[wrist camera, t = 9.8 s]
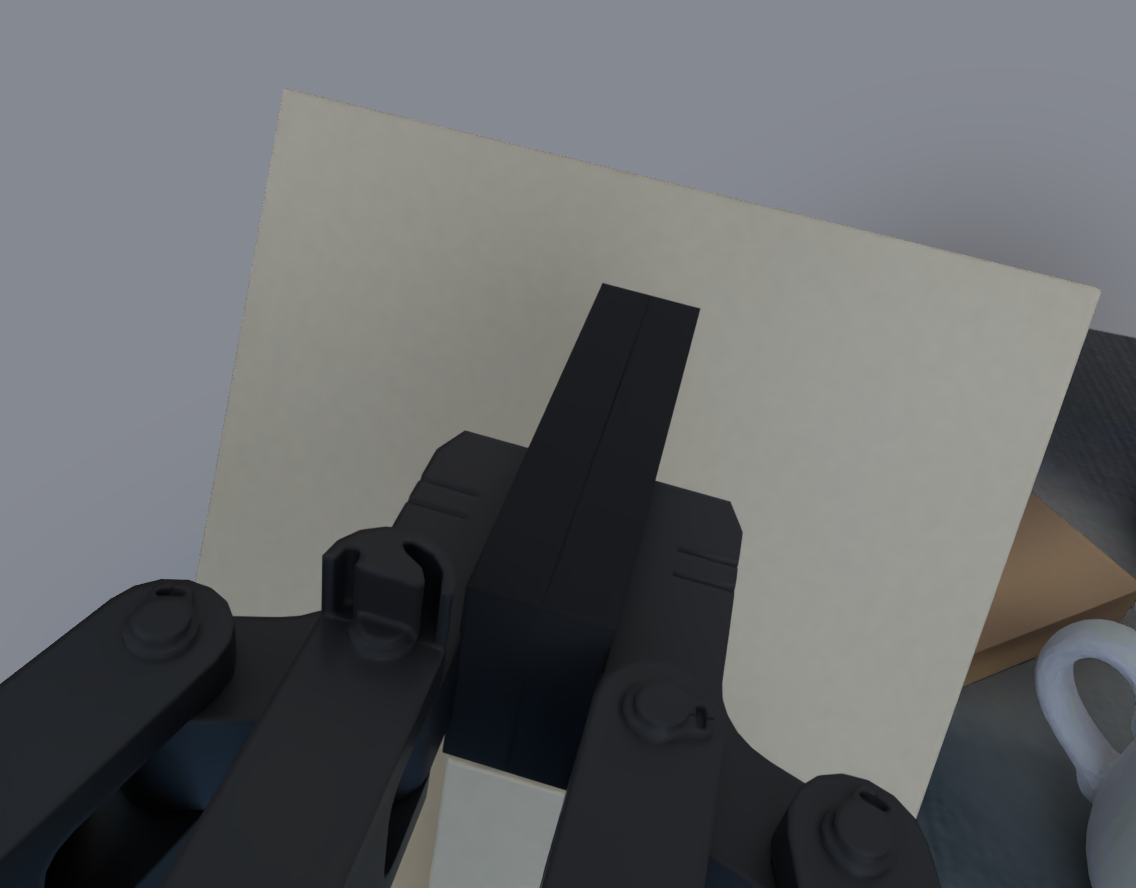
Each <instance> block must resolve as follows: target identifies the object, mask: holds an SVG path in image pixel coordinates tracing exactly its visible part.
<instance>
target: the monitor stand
mask: <svg viewBox="0 0 1136 888" xmlns="http://www.w3.org/2000/svg"><path fill="white" fill-rule="evenodd" d="M444 736H445V735H444ZM443 743H444V737H443V740H442V742H441V745H440V747H439V750H438V752H437V755H436V757H435V760H434V762H433V765H432V767H431V770H430V778H429V784H428V790H427V796H426V800H425V802H424V805H423V807H422V810H421V812H420V815H419V817H418V820H417V822H416V825H415V827H414V830H413V833H412V835H411V838H410V840H409V843H408V845H407V848H406V850H405V853H404V855H403V858H402V860H401V863H400V865H399V868H398V871H397V873H396V876H395V878H394V881H393V883H392V886H391V888H540V884H541V880H542V877H543V871H544V868H545V864H546V861H547V857H548V854H549V850H550V847H551V843H552V840H553V836H554V833H555V829H556V826H557V822H558V819H559V815H560V812H561V808H562V805H563V801H564V797H565V793H566V790H563V789H560V788H556V787H553V786H550V785H547V784H543V783H540V782H537V781H534V780H530V779H527V778H524V777H521V776H517V775H514V774H511V773H508V772H504V771H501V770H498V769H495V768H491V767H488V766H485V765H482V764H478V763H475V762H472V761H469V760H465V759H462V758H459V757H456V756H452V755H449V754H446V753H443V752H442V750H443Z"/></svg>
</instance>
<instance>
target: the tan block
mask: <svg viewBox="0 0 1136 888" xmlns="http://www.w3.org/2000/svg"><path fill="white" fill-rule="evenodd" d="M1135 601H1136V579H1135V578H1133V577H1132V576H1131V575H1130V574H1129V573H1128V572H1126V571H1125V570H1124V569H1123V568H1122V567H1120V566H1119V565H1118V564H1117V563H1116V562H1114V561H1113V560H1112V559H1111V558H1110V557H1108V556H1107V555H1106V554H1105V553H1104V552H1103V551H1101V550H1100V549H1099V548H1098V547H1097V546H1095V545H1094V544H1093V543H1092V542H1091V541H1089V540H1088V539H1087V538H1086V537H1085V536H1084V535H1082V534H1081V533H1080V532H1079V531H1078V530H1076V529H1075V528H1074V527H1073V526H1072V525H1070V524H1069V523H1068V522H1067V521H1066V520H1064V519H1063V518H1062V517H1061V516H1060V515H1059V514H1057V513H1056V512H1055V511H1054V510H1053V509H1051V508H1050V507H1049V506H1048V505H1047V504H1045V503H1044V502H1043V501H1042V500H1041V499H1040V498H1038V497H1037V496H1036V495H1035V494H1034V493H1032V492H1031V493H1030V496H1029V499H1028V502H1027V505H1026V508H1025V511H1024V513H1023V516H1022V519H1021V522H1020V525H1019V528H1018V530H1017V533H1016V536H1015V539H1014V542H1013V545H1012V547H1011V550H1010V553H1009V556H1008V559H1007V562H1006V565H1005V567H1004V570H1003V573H1002V576H1001V579H1000V582H999V584H998V587H997V590H996V593H995V596H994V599H993V601H992V604H991V607H990V610H989V613H988V616H987V619H986V621H985V624H984V627H983V630H982V633H981V636H980V638H979V641H978V644H977V647H976V650H975V653H974V655H973V658H972V661H971V664H970V667H969V670H968V673H967V675H966V678H965V681H964V684H963V686H966V685H968V684H971V683H973V682H975V681H978V680H980V679H983V678H985V677H988V676H990V675H993V674H995V673H998V672H1000V671H1003V670H1005V669H1008V668H1010V667H1012V666H1015V665H1017V664H1020V663H1022V662H1025V661H1027V660H1030V659H1032V658H1035V657H1037V656H1039V654H1040V652H1041V649H1042V648H1043V647H1044V645H1045V644H1046V643H1047V642H1048V640H1049V639H1050V638H1051V637H1052V636H1053V635H1054V634H1055V633H1056V632H1057V631H1058V630H1060V629H1062V628H1064V627H1066V626H1068V625H1070V624H1072V623H1075V622H1079V621H1082V620H1091V619H1103V620H1109V621H1114V622H1117V623H1119V622H1120V621H1121V619H1122V618H1123V617H1124V615H1125V614H1126V613H1127V611H1128V610H1129V609H1130V607H1131V606H1132V605H1133V603H1134V602H1135Z"/></svg>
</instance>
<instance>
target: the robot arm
mask: <svg viewBox="0 0 1136 888" xmlns="http://www.w3.org/2000/svg"><path fill="white" fill-rule="evenodd" d="M700 309H701V308H697V307H693V306H689V305H685V304H682V303H678V302H674V301H670V300H666V299H663V298H659V297H655V296H651V295H647V294H643V293H640V292H636V291H632V290H628V289H624V288H621V287H617V286H613V285H609V284H605V283H602V285H601V287H600V289H599V292H598V294H597V296H596V298H595V301H594V303H593V305H592V307H591V309H590V312H589V314H588V316H587V318H586V321H585V323H584V325H583V327H582V329H581V332H580V334H579V336H578V338H577V341H576V343H575V345H574V347H573V349H572V352H571V354H570V356H569V358H568V361H567V363H566V365H565V367H564V369H563V372H562V374H561V376H560V378H559V381H558V383H557V385H556V387H555V389H554V392H553V394H552V396H551V398H550V401H549V403H548V405H547V407H546V409H545V412H544V414H543V416H542V418H541V421H540V423H539V425H538V427H537V429H536V432H535V434H534V436H533V438H532V441H531V443H530V445H529V447H528V448H527V447H523V446H520V445H516V444H513V443H509V442H505V441H502V440H498V439H495V438H491V437H488V436H484V435H480V434H477V433H473V432H470V431H466V430H465V431H463V432H462V433H460V434H459V435H457V436H456V437H454V438H452V439H451V440H449V441H448V442H446V443H445V444H443V445H442V446H440V447H439V448H437V449H436V451H435V453H434V454H433V456H432V458H431V459H430V461H429V463H428V465H427V466H426V468H425V470H424V472H423V473H422V475H421V479H420V481H419V480H418V482H417V484H416V486H415V487H414V489H413V491H412V492H411V494H410V496H409V499H408V502H406V503H405V505H404V506H403V508H402V510H401V512H400V513H399V515H398V517H397V518H396V520H395V522H394V524H393V525H392V527H387V526H385V527H377V528H369V529H362V530H358V531H356V532H354V533H352V534H350V535H347V536H345V537H343V538H341V539H339V540H337V541H336V542H335V543H334V544H333V545H332V546H331V547H330V548H329V549H328V550H327V551H326V552H325V553H324V554H323V555H322V602H321V610H320V611H316V612H313V613H309V614H305V615H301V616H286V617H258V616H233V615H232V612H231V610H230V607H229V604H228V602H227V601H226V600H225V599H224V598H223V597H222V596H220V595H219V594H218V593H217V592H216V591H215V590H213V589H212V588H211V587H208V586H205V585H202V584H199V583H196V582H193V581H190V580H174V579H173V580H172V579H160V580H156V581H152V582H148V583H144V584H140V585H136V586H133V587H131V588H130V589H128V590H126V591H124V592H122V593H120V594H119V595H117V596H115V597H113V598H111V599H110V600H109V601H107V602H106V603H105V604H103V605H102V606H101V607H100V608H98V609H97V610H96V611H94V612H93V613H92V614H91V615H89V616H88V617H87V618H85V619H84V620H83V621H81V622H80V623H79V624H77V625H76V626H75V627H74V628H72V629H71V630H70V631H68V632H67V633H66V634H65V635H63V636H62V637H61V638H59V639H58V640H57V641H55V642H54V643H53V644H52V645H50V646H49V647H48V648H46V649H45V650H44V651H42V652H41V653H40V654H39V655H37V656H36V657H35V658H33V659H32V660H31V661H29V662H28V663H27V664H26V665H24V666H23V667H22V668H20V669H19V670H18V671H17V672H15V673H14V674H13V675H12V676H10V677H9V678H7V679H6V680H5V681H4V682H2V683H1V684H0V888H391V886H392V883H393V881H394V878H395V876H396V873H397V871H398V868H399V865H400V863H401V860H402V858H403V855H404V853H405V850H406V848H407V845H408V843H409V840H410V838H411V835H412V833H413V830H414V827H415V825H416V822H417V820H418V817H419V815H420V812H421V810H422V807H423V805H424V802H425V800H426V796H427V790H428V784H429V778H430V770H431V767H432V765H433V762H434V760H435V757H436V755H437V752H438V750H439V747H440V745H441V742H442V740H443V737H444V743H443V750H442V752H443V753H446V754H449V755H452V756H456V757H459V758H462V759H465V760H469V761H472V762H475V763H478V764H482V765H485V766H488V767H491V768H495V769H498V770H501V771H504V772H508V773H511V774H514V775H517V776H521V777H524V778H527V779H530V780H534V781H537V782H540V783H543V784H547V785H550V786H553V787H556V788H560V789H563V790H566V793H565V797H564V801H563V805H562V808H561V812H560V815H559V819H558V822H557V826H556V829H555V833H554V836H553V840H552V843H551V847H550V850H549V854H548V857H547V861H546V864H545V868H544V871H543V877H542V880H541V884H540V888H941V884H940V881H939V878H938V875H937V872H936V868H935V865H934V862H933V859H932V855H931V852H930V849H929V846H928V843H927V841H926V839H925V837H924V835H923V833H922V831H921V829H920V827H919V825H918V823H917V821H916V819H915V817H914V816H913V815H912V814H911V813H910V812H909V811H908V810H907V809H906V808H905V807H904V806H903V805H902V804H901V803H900V801H899V800H898V799H897V798H896V797H895V796H894V795H892V794H890V793H889V792H887V791H886V790H884V789H882V788H881V787H879V786H877V785H876V784H874V783H872V782H871V781H869V780H866V779H862V778H858V777H855V776H851V775H847V774H843V773H839V774H829V775H818V776H816V777H815V778H813V779H811V780H810V781H808V782H806V783H804V782H802V781H801V780H799V779H798V778H796V777H794V776H793V775H791V774H790V773H788V772H786V771H785V770H783V769H782V768H780V767H778V766H777V765H775V764H774V763H772V762H770V761H769V760H767V759H766V758H765V757H764V756H762V755H761V754H760V753H758V752H757V751H756V750H754V749H753V748H752V747H751V746H750V745H749V744H748V743H747V742H746V741H745V740H744V739H743V737H742V736H741V735H740V734H739V733H738V732H737V730H736V728H735V727H734V725H733V723H732V722H731V720H730V718H729V716H728V714H727V711H726V708H725V704H724V701H723V688H722V682H723V675H724V667H725V660H726V653H727V645H728V638H729V631H730V624H731V616H732V609H733V602H734V594H735V593H734V590H735V587H736V580H737V572H738V568H737V567H738V564H739V558H740V550H741V543H742V536H743V531H742V529H741V526H740V524H739V521H738V519H737V516H736V514H735V511H734V509H733V506H732V504H731V501H727V500H723V499H720V498H716V497H713V496H709V495H705V494H702V493H698V492H695V491H691V490H688V489H684V488H680V487H677V486H673V485H670V484H666V483H662V482H659V481H655V480H656V477H657V473H658V469H659V465H660V461H661V457H662V454H663V450H664V446H665V442H666V438H667V435H668V431H669V427H670V423H671V419H672V415H673V412H674V408H675V404H676V400H677V396H678V393H679V389H680V385H681V381H682V377H683V373H684V370H685V366H686V362H687V358H688V354H689V351H690V347H691V343H692V339H693V335H694V332H695V328H696V324H697V320H698V316H699V312H700ZM444 735H445V736H444Z"/></svg>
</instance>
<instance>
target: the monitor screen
mask: <svg viewBox="0 0 1136 888" xmlns="http://www.w3.org/2000/svg"><path fill="white" fill-rule="evenodd" d="M602 283H605V284H609V285H613V286H617V287H621V288H624V289H628V290H632V291H636V292H640V293H643V294H647V295H651V296H655V297H659V298H663V299H666V300H670V301H674V302H678V303H682V304H685V305H689V306H693V307H697V308H701V309H700V312H699V316H698V320H697V324H696V328H695V332H694V335H693V339H692V343H691V347H690V351H689V354H688V358H687V362H686V366H685V370H684V373H683V377H682V381H681V385H680V389H679V393H678V396H677V400H676V404H675V408H674V412H673V415H672V419H671V423H670V427H669V431H668V435H667V438H666V442H665V446H664V450H663V454H662V457H661V461H660V465H659V469H658V473H657V477H656V480H655V481H659V482H662V483H666V484H670V485H673V486H677V487H680V488H684V489H688V490H691V491H695V492H698V493H702V494H705V495H709V496H713V497H716V498H720V499H723V500H727V501H731V504H732V506H733V509H734V511H735V514H736V516H737V519H738V521H739V524H740V526H741V529H742V531H743V536H742V543H741V550H740V558H739V564H738V567H737V568H738V572H737V580H736V587H735V590H734V593H735V594H734V602H733V609H732V616H731V624H730V631H729V638H728V645H727V653H726V660H725V667H724V675H723V682H722V688H723V701H724V704H725V708H726V711H727V714H728V716H729V718H730V720H731V722H732V723H733V725H734V727H735V728H736V730H737V732H738V733H739V734H740V735H741V736H742V737H743V739H744V740H745V741H746V742H747V743H748V744H749V745H750V746H751V747H752V748H753V749H754V750H756V751H757V752H758V753H760V754H761V755H762V756H764V757H765V758H766V759H767V760H769V761H770V762H772V763H774V764H775V765H777V766H778V767H780V768H782V769H783V770H785V771H786V772H788V773H790V774H791V775H793V776H794V777H796V778H798V779H799V780H801V781H802V782H804V783H806V782H808V781H810V780H811V779H813V778H815V777H816V776H818V775H829V774H839V773H843V774H847V775H851V776H855V777H858V778H862V779H866V780H869V781H871V782H872V783H874V784H876V785H877V786H879V787H881V788H882V789H884V790H886V791H887V792H889V793H890V794H892V795H894V796H895V797H896V798H897V799H898V800H899V801H900V803H901V804H902V805H903V806H904V807H905V808H906V809H907V810H908V811H909V812H910V813H911V814H912V815H913V816H914V817H915V819H916V817H917V815H918V812H919V809H920V806H921V803H922V800H923V798H924V795H925V792H926V789H927V786H928V783H929V781H930V778H931V775H932V772H933V769H934V766H935V763H936V761H937V758H938V755H939V752H940V749H941V746H942V744H943V741H944V738H945V735H946V732H947V729H948V727H949V724H950V721H951V718H952V715H953V712H954V709H955V707H956V704H957V701H958V698H959V695H960V692H961V690H962V687H963V684H964V681H965V678H966V675H967V673H968V670H969V667H970V664H971V661H972V658H973V655H974V653H975V650H976V647H977V644H978V641H979V638H980V636H981V633H982V630H983V627H984V624H985V621H986V619H987V616H988V613H989V610H990V607H991V604H992V601H993V599H994V596H995V593H996V590H997V587H998V584H999V582H1000V579H1001V576H1002V573H1003V570H1004V567H1005V565H1006V562H1007V559H1008V556H1009V553H1010V550H1011V547H1012V545H1013V542H1014V539H1015V536H1016V533H1017V530H1018V528H1019V525H1020V522H1021V519H1022V516H1023V513H1024V511H1025V508H1026V505H1027V502H1028V499H1029V496H1030V493H1031V491H1032V488H1033V485H1034V482H1035V479H1036V476H1037V474H1038V471H1039V468H1040V465H1041V462H1042V459H1043V457H1044V454H1045V451H1046V448H1047V445H1048V442H1049V439H1050V437H1051V434H1052V431H1053V428H1054V425H1055V422H1056V420H1057V417H1058V414H1059V411H1060V408H1061V405H1062V403H1063V400H1064V397H1065V394H1066V391H1067V388H1068V385H1069V383H1070V380H1071V377H1072V374H1073V371H1074V368H1075V366H1076V363H1077V360H1078V357H1079V354H1080V351H1081V349H1082V346H1083V343H1084V340H1085V337H1086V334H1087V332H1088V329H1089V325H1090V323H1091V320H1092V317H1093V314H1094V311H1095V309H1096V306H1097V303H1098V300H1099V297H1100V294H1101V292H1102V290H1101V289H1100V288H1098V287H1094V286H1089V285H1085V284H1081V283H1077V282H1073V281H1069V280H1065V279H1061V278H1057V277H1053V276H1049V275H1045V274H1041V273H1036V272H1032V271H1028V270H1024V269H1020V268H1016V267H1012V266H1008V265H1003V264H1000V263H996V262H992V261H987V260H983V259H979V258H975V257H971V256H967V255H963V254H959V253H955V252H951V251H947V250H943V249H938V248H935V247H931V246H926V245H922V244H918V243H914V242H910V241H906V240H902V239H897V238H894V237H889V236H885V235H882V234H878V233H873V232H869V231H865V230H861V229H857V228H852V227H849V226H845V225H841V224H837V223H833V222H829V221H824V220H820V219H816V218H812V217H808V216H804V215H800V214H796V213H792V212H787V211H784V210H780V209H775V208H771V207H767V206H763V205H759V204H755V203H751V202H747V201H743V200H739V199H734V198H731V197H727V196H723V195H718V194H714V193H710V192H706V191H702V190H698V189H694V188H690V187H686V186H681V185H677V184H674V183H669V182H665V181H661V180H657V179H653V178H648V177H645V176H641V175H637V174H632V173H628V172H624V171H620V170H616V169H612V168H608V167H604V166H600V165H596V164H592V163H588V162H583V161H580V160H575V159H572V158H567V157H563V156H559V155H555V154H551V153H547V152H543V151H539V150H535V149H531V148H527V147H523V146H519V145H514V144H510V143H506V142H502V141H498V140H494V139H490V138H486V137H482V136H478V135H473V134H469V133H465V132H461V131H457V130H453V129H449V128H445V127H441V126H437V125H432V124H429V123H424V122H421V121H416V120H412V119H408V118H404V117H400V116H396V115H392V114H388V113H384V112H380V111H376V110H372V109H368V108H363V107H359V106H355V105H351V104H347V103H343V102H339V101H335V100H331V99H327V98H323V97H319V96H315V95H310V94H306V93H302V92H298V91H294V90H290V89H284V91H283V96H282V102H281V107H280V113H279V119H278V124H277V129H276V135H275V141H274V146H273V152H272V158H271V163H270V169H269V174H268V180H267V185H266V191H265V196H264V202H263V208H262V213H261V219H260V224H259V230H258V236H257V241H256V247H255V252H254V258H253V264H252V269H251V275H250V280H249V286H248V291H247V297H246V303H245V308H244V314H243V319H242V326H241V331H240V336H239V342H238V347H237V353H236V358H235V364H234V370H233V375H232V381H231V387H230V392H229V398H228V403H227V409H226V414H225V420H224V425H223V431H222V437H221V443H220V448H219V453H218V459H217V464H216V471H215V476H214V481H213V487H212V492H211V498H210V503H209V509H208V515H207V520H206V526H205V531H204V538H203V543H202V549H201V554H200V559H199V565H198V570H197V576H196V583H199V584H202V585H205V586H208V587H211V588H212V589H213V590H215V591H216V592H217V593H218V594H219V595H220V596H222V597H223V598H224V599H225V600H226V601H227V602H228V604H229V607H230V610H231V612H232V615H233V616H258V617H286V616H301V615H305V614H309V613H313V612H316V611H320V610H321V602H322V555H323V554H324V553H325V552H326V551H327V550H328V549H329V548H330V547H331V546H332V545H333V544H334V543H335V542H336V541H337V540H339V539H341V538H343V537H345V536H347V535H350V534H352V533H354V532H356V531H358V530H362V529H369V528H377V527H385V526H387V527H392V525H393V524H394V522H395V520H396V518H397V517H398V515H399V513H400V512H401V510H402V508H403V506H404V505H405V503H406V502H408V499H409V496H410V494H411V492H412V491H413V489H414V487H415V486H416V484H417V482H418V480H419V481H420V479H421V475H422V473H423V472H424V470H425V468H426V466H427V465H428V463H429V461H430V459H431V458H432V456H433V454H434V453H435V451H436V449H437V448H439V447H440V446H442V445H443V444H445V443H446V442H448V441H449V440H451V439H452V438H454V437H456V436H457V435H459V434H460V433H462V432H463V431H465V430H466V431H470V432H473V433H477V434H480V435H484V436H488V437H491V438H495V439H498V440H502V441H505V442H509V443H513V444H516V445H520V446H523V447H527V448H528V447H529V445H530V443H531V441H532V438H533V436H534V434H535V432H536V429H537V427H538V425H539V423H540V421H541V418H542V416H543V414H544V412H545V409H546V407H547V405H548V403H549V401H550V398H551V396H552V394H553V392H554V389H555V387H556V385H557V383H558V381H559V378H560V376H561V374H562V372H563V369H564V367H565V365H566V363H567V361H568V358H569V356H570V354H571V352H572V349H573V347H574V345H575V343H576V341H577V338H578V336H579V334H580V332H581V329H582V327H583V325H584V323H585V321H586V318H587V316H588V314H589V312H590V309H591V307H592V305H593V303H594V301H595V298H596V296H597V294H598V292H599V289H600V287H601V285H602Z"/></svg>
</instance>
